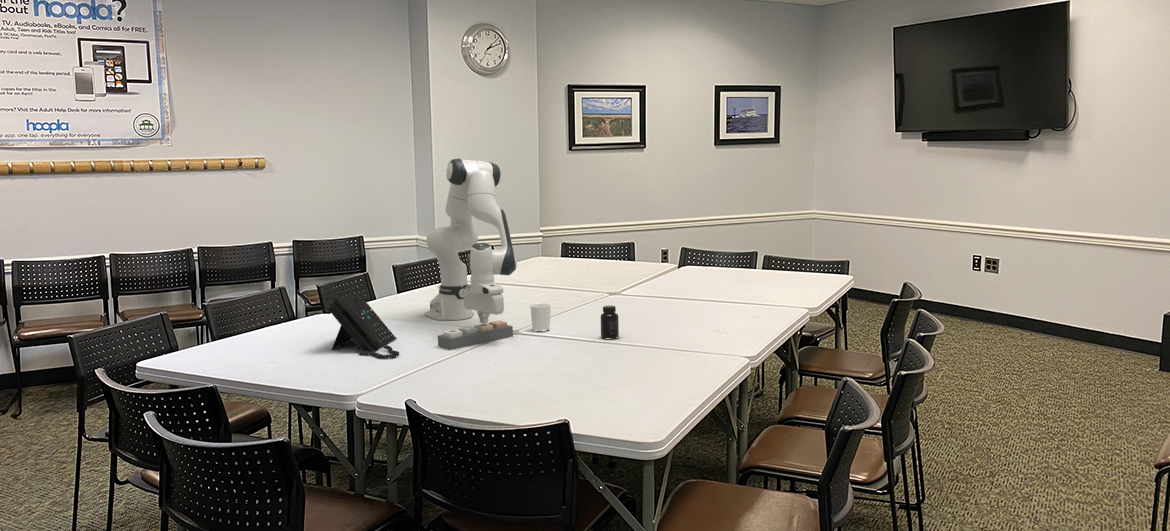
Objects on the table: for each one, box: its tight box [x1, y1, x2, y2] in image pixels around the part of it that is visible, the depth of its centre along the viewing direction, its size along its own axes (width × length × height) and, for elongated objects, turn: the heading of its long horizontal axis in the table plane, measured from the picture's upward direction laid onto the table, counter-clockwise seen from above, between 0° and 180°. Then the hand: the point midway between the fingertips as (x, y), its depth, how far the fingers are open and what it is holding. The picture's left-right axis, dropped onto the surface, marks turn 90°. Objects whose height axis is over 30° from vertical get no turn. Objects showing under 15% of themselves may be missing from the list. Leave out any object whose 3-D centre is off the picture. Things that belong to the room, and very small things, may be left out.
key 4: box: [488, 320, 508, 329], centre depth 322 cm, size 5×5×3 cm
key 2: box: [458, 325, 478, 335], centre depth 313 cm, size 5×5×3 cm
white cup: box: [530, 303, 552, 331], centre depth 332 cm, size 8×8×10 cm
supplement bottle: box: [600, 305, 620, 339], centre depth 318 cm, size 7×7×12 cm
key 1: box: [442, 329, 463, 338], centre depth 308 cm, size 5×5×3 cm
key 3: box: [473, 323, 493, 332], centre depth 317 cm, size 5×5×3 cm
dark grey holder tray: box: [437, 324, 514, 351], centre depth 315 cm, size 8×29×4 cm, turn 135°
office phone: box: [328, 293, 400, 360], centre depth 305 cm, size 29×28×20 cm
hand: (483, 322), depth 317 cm, fingers closed
